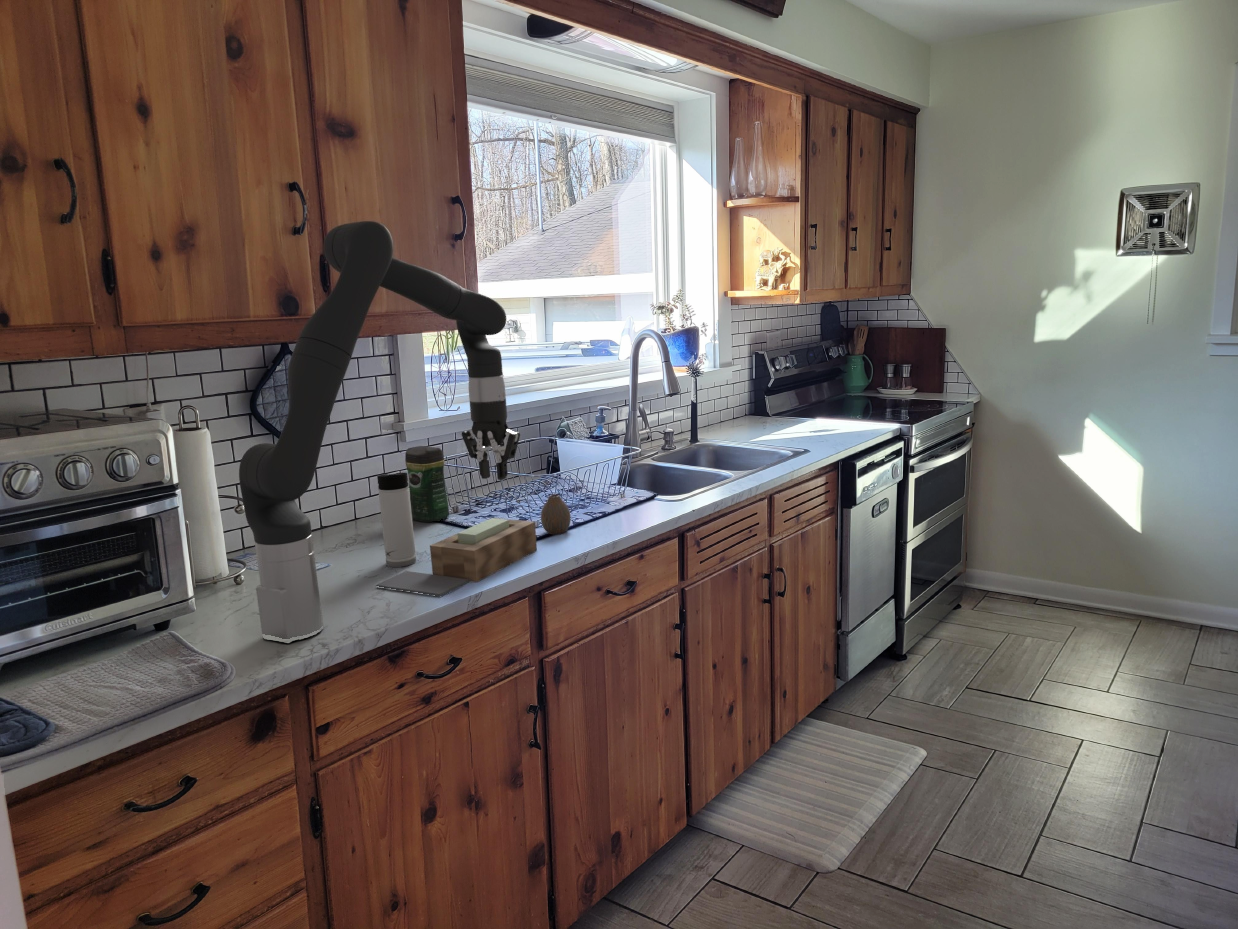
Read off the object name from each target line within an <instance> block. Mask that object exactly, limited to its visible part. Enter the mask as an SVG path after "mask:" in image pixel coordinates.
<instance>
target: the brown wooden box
mask: <svg viewBox="0 0 1238 929" xmlns="http://www.w3.org/2000/svg"><path fill="white" fill-rule="evenodd" d="M494 518H495V519H501V518H498V517H494ZM504 519H505V520H509V527H510V528H507V529H505V530H503V531H501V532H499V533H497V534H495V535H492V536H490V537H488V538H486V539H484V540H482V541H480V542H477V543H475V544H473V545H469V544H460V543H458V534H457V533H455V534H452V535H451V536H448V537H446V538H444V539H442V540H440V541H437V542H435V543H432V544H431V545H429V549H430V550H429V551H430V552H429V553H430V559H431V562H430V563H431V571H432V573H431V574H433V575H440V576H448V577H455V578H463V579H469V582H474V583H478V582H481V581H482V580H485V579H486V578H488V577H489V576H491V575H493V574H496V573H497V572H499V571H501V570H503V569H505V568H507V567H509V566H510V565H512V564H515V563H516V562H518V561H520V560H522V559H524V558H525V557H528V556H530V555H531V554H533V553H535V552H537V551H538V548H537V547H538V546H537V532H536V530H537V529H536V521H531V520H520V519H519V520H518V519H508V518H507V519H506V518H504Z"/></svg>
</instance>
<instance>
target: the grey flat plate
mask: <svg viewBox="0 0 1238 929" xmlns="http://www.w3.org/2000/svg"><path fill="white" fill-rule="evenodd" d="M468 583H470V581H469V579H463V578H455V577H448V576H440V575H433V573H424V572H415V571H411V570H410V571H409V570H405V571H403V572H401V573H399V574H397V575H394V576H391V577H390V578H388V579H385V580H383V581H382V582H379V583H377V584H375V587H376V586H379V587H384V588H391V589H396V590H403V591H410V592H418V593H423V594H429V595H435V596H434V597H436V596H442V595H444V594H446V595H448V594H449V592H450V593H451V592H453V591H456V590H458V589H459V588H461V587H463V586H465V585H466V584H467V585H468ZM447 593H448V594H447ZM423 594H422V595H423ZM429 595H428V596H429ZM444 596H445V595H444ZM442 597H443V596H442Z"/></svg>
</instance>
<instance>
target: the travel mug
mask: <svg viewBox="0 0 1238 929" xmlns="http://www.w3.org/2000/svg"><path fill="white" fill-rule="evenodd" d="M376 477H377V478H376V479H377V485H378V486H377V487H378V490H377V491H378V499H379V506H380V507H379V508H380V517H381V518H380V519H381V527H382V536H383V544H384V553H385V562H386V563H385V564H386V565H387V566H389V567H392V568H400V567H408V566H412V565H413V564H415V563H416V561H417V555H416V544H415V535H414V527H413V526H414V525H413V524H414V523H413V519H412V513H411V503H410V489H409V476H408V472H395V473H390V474H388V473H386V474H385V473H384V474H379V475H377V476H376Z"/></svg>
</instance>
